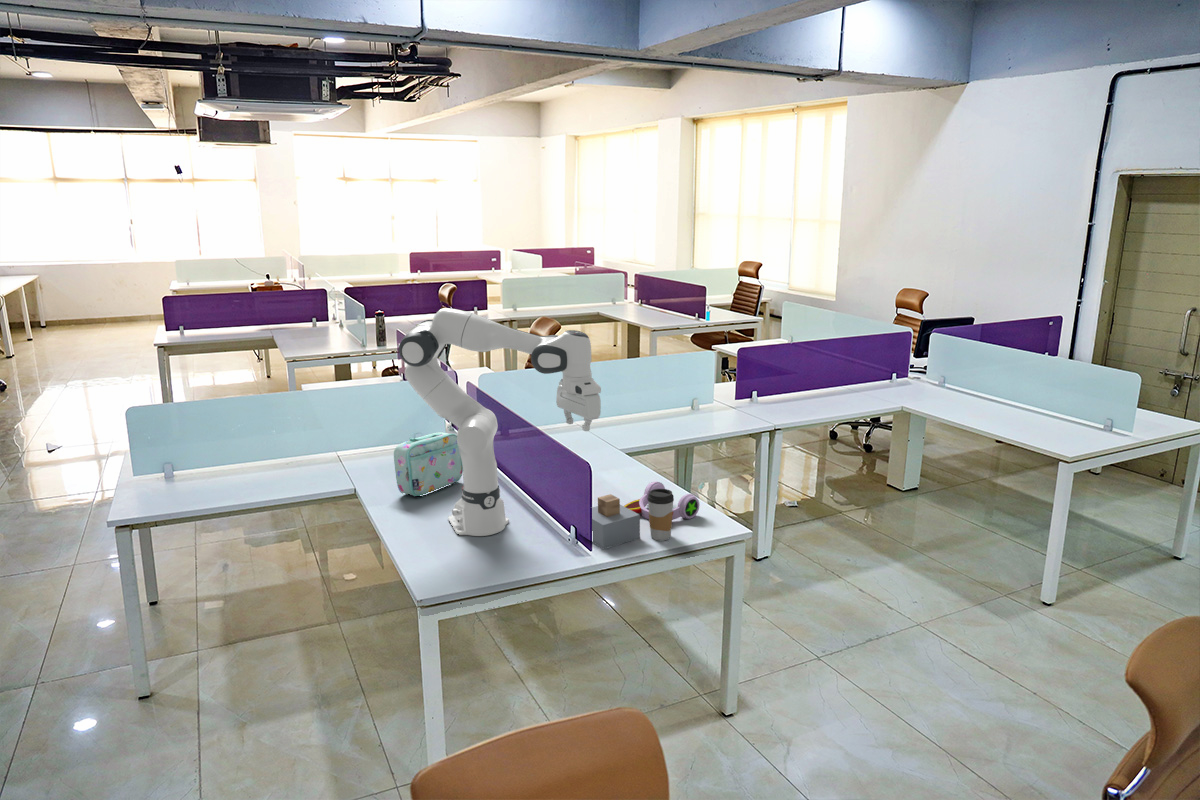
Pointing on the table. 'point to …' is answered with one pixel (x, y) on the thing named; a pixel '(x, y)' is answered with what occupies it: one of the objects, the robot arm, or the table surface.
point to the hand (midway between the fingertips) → (577, 427)
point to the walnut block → (608, 505)
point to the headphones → (684, 509)
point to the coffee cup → (660, 513)
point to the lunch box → (427, 463)
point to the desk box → (615, 527)
